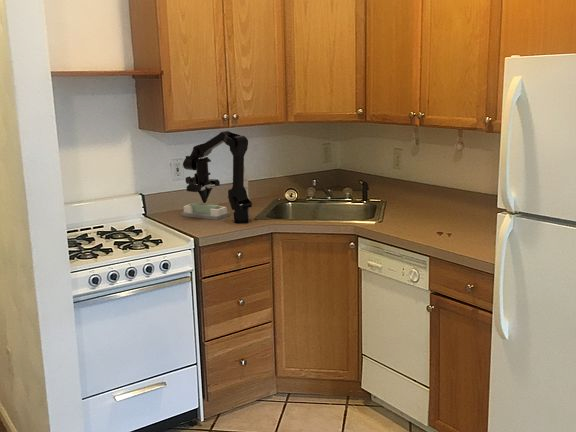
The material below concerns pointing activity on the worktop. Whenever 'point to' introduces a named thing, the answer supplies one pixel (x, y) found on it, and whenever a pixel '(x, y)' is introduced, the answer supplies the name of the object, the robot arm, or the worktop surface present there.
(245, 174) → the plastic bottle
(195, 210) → the pale green bar
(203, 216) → the cradle
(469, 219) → the worktop surface
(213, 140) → the robot arm
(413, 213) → the worktop surface
